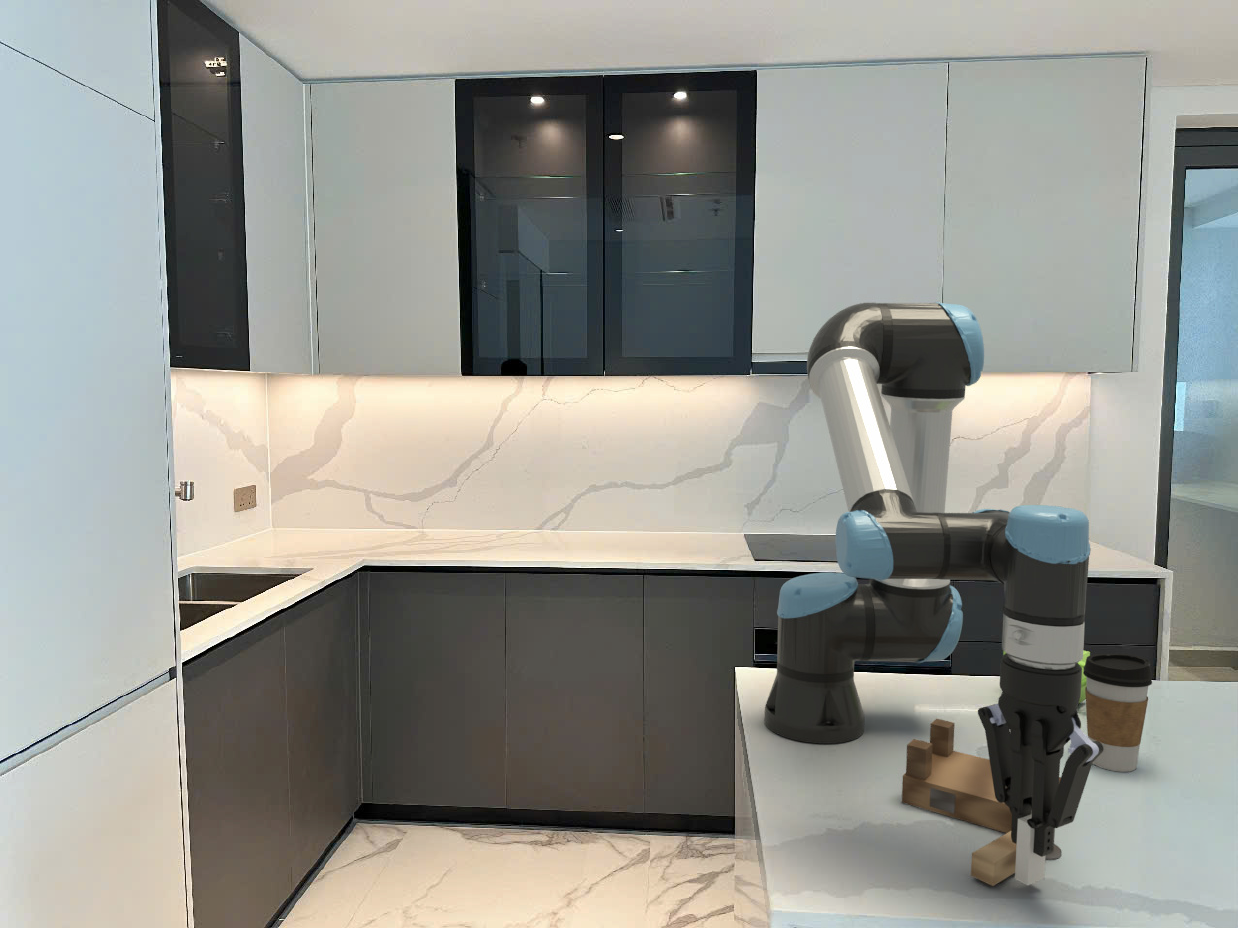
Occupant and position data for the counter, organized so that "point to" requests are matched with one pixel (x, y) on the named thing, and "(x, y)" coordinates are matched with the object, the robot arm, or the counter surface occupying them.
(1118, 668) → the coffee cup
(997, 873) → the hinged leg
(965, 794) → the stool top
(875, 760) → the counter surface
